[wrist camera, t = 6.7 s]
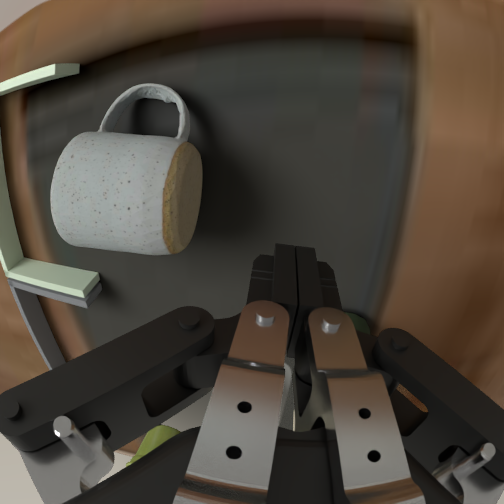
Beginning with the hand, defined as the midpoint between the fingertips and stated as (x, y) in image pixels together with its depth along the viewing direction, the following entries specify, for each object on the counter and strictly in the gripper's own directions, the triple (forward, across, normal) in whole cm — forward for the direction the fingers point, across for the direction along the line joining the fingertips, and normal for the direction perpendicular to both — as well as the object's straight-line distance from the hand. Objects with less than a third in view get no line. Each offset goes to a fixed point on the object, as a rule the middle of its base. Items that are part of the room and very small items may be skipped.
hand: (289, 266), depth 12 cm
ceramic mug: (+10, +10, -1) cm, 14 cm away
